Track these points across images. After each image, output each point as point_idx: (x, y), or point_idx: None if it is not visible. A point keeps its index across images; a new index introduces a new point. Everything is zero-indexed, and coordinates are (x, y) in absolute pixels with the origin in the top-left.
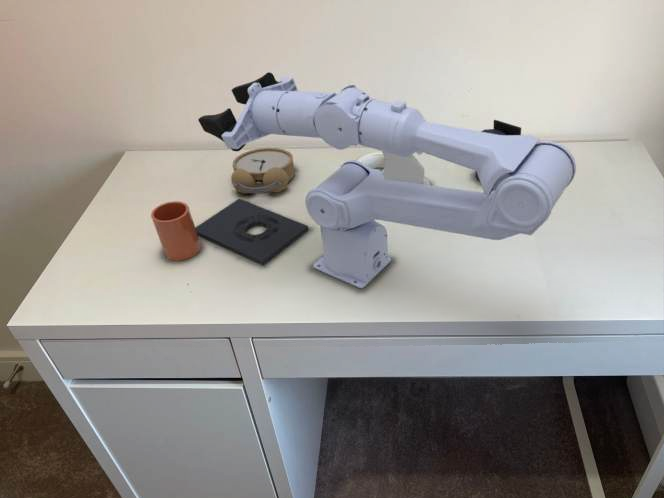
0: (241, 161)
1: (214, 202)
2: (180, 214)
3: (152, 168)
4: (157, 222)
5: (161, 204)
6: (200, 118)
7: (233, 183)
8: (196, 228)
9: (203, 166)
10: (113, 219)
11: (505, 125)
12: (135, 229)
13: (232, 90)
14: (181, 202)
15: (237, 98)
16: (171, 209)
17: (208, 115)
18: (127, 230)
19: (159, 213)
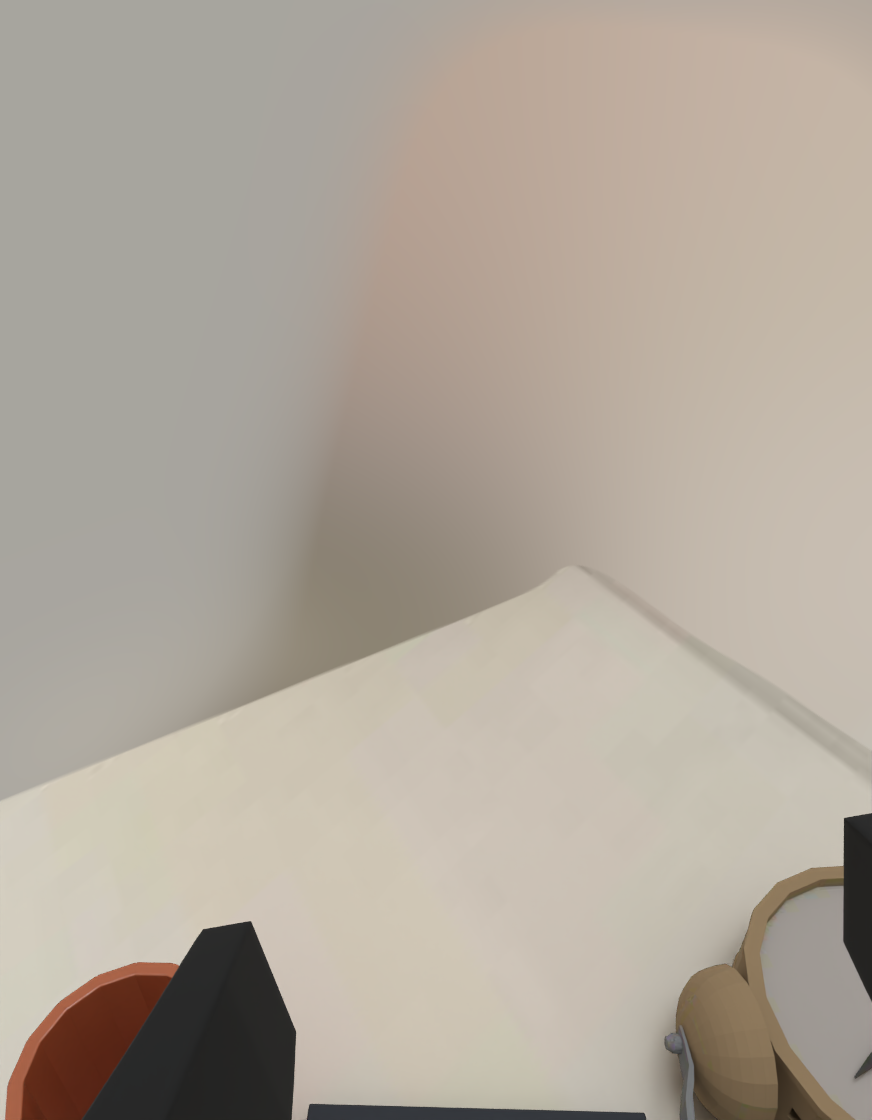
0: (818, 908)
1: (556, 1000)
2: None
3: (559, 659)
4: (12, 1081)
5: (172, 966)
6: (186, 960)
7: (678, 1013)
8: (326, 1115)
9: (695, 768)
10: (270, 765)
11: None
12: (246, 866)
13: (853, 837)
14: None
15: (863, 936)
16: None
17: (179, 1063)
18: (230, 848)
19: (144, 993)
